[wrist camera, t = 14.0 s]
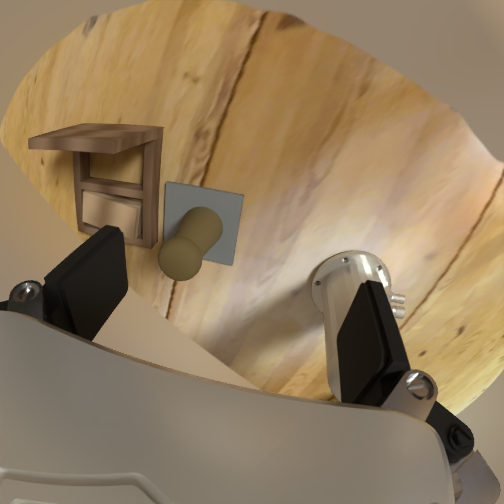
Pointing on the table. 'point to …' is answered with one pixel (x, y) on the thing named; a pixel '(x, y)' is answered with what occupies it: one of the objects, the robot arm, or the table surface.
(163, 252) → the olive pawn
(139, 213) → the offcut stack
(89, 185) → the open walnut box
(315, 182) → the table surface
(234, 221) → the slate mat
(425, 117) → the table surface
